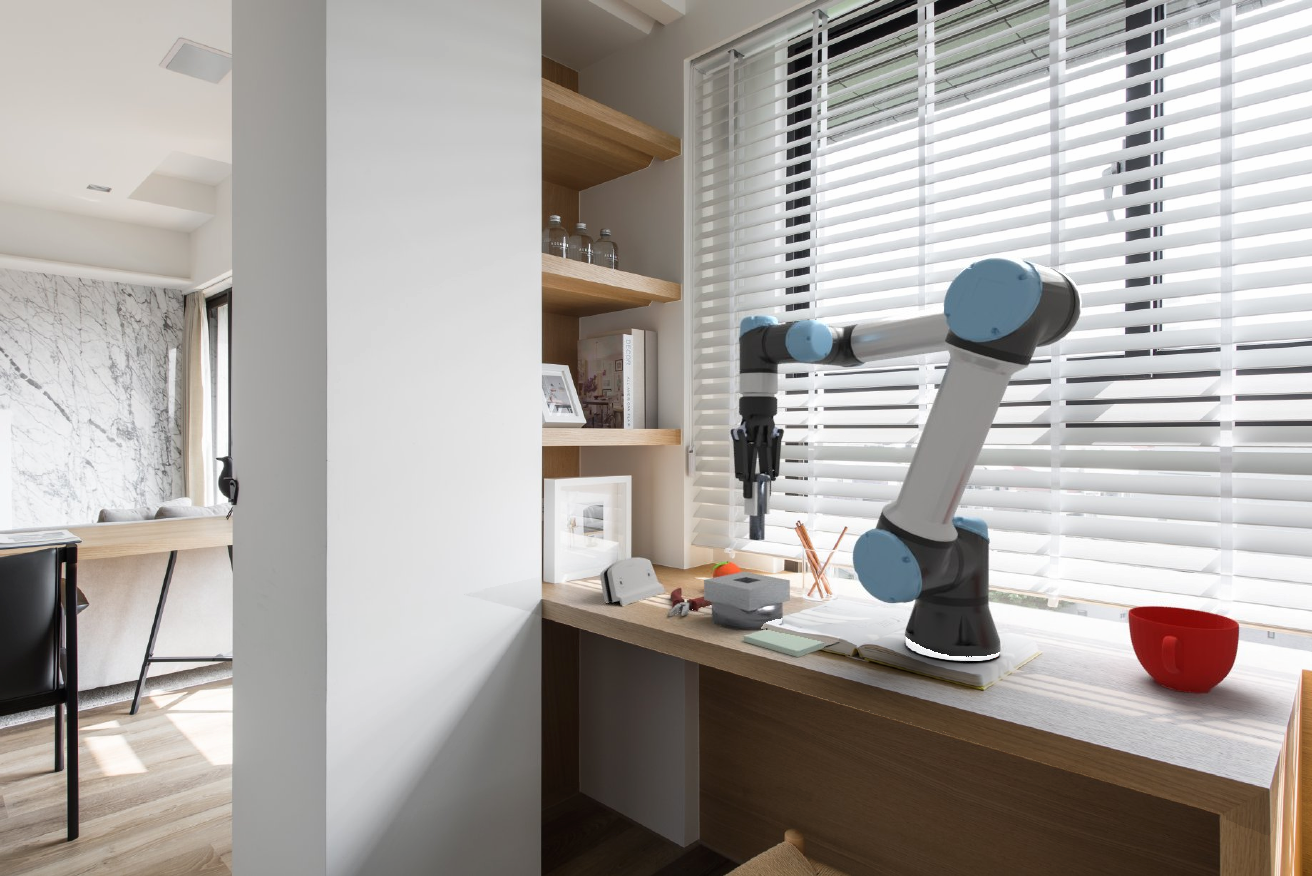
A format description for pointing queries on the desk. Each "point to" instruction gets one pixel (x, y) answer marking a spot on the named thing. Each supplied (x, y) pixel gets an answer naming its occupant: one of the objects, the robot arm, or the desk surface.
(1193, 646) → the ceramic cup
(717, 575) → the clementine
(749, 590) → the chuck block
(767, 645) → the sage mat
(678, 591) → the pliers
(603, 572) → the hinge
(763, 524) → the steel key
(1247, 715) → the desk surface
